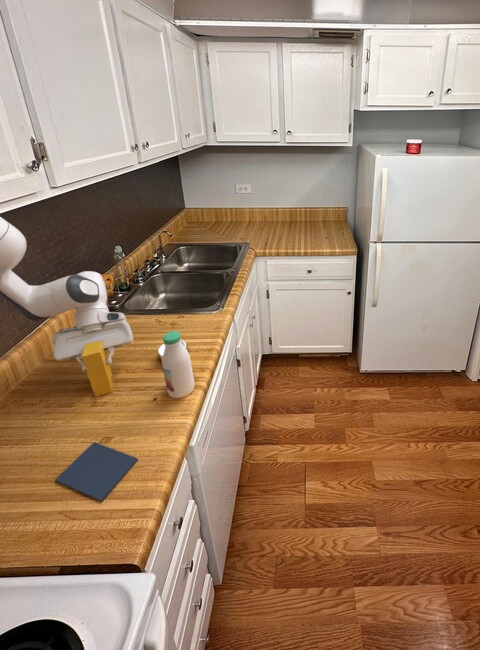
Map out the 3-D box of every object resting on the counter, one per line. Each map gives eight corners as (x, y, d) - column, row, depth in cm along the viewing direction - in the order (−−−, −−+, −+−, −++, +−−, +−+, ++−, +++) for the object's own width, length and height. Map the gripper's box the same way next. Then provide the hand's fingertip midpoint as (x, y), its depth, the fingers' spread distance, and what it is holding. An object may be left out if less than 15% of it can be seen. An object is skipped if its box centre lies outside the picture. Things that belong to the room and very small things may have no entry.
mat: (55, 481, 76) (54, 479, 76) (94, 443, 85) (94, 441, 85) (101, 502, 72) (101, 500, 72) (138, 460, 81) (137, 458, 80)
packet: (96, 383, 104) (84, 344, 98) (113, 378, 105) (102, 340, 100) (94, 397, 99) (81, 356, 93) (112, 391, 100) (100, 351, 95)
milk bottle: (195, 378, 106) (187, 325, 99) (193, 396, 99) (184, 341, 92) (170, 382, 104) (159, 329, 97) (166, 401, 97) (154, 345, 90)
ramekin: (191, 359, 114) (189, 349, 112) (164, 370, 109) (161, 359, 107) (183, 346, 121) (181, 336, 119) (157, 355, 116) (155, 345, 114)
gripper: (48, 329, 96) (50, 377, 91) (128, 311, 104) (134, 355, 100) (55, 333, 101) (58, 379, 97) (131, 316, 110) (137, 358, 105)
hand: (97, 367), depth 98 cm, fingers closed on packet, 4 cm apart
